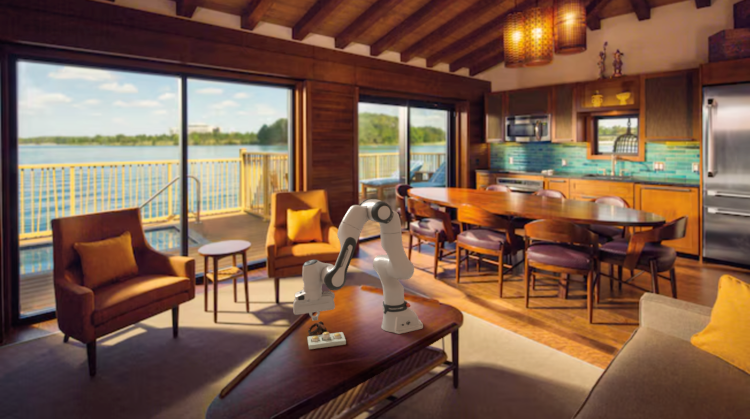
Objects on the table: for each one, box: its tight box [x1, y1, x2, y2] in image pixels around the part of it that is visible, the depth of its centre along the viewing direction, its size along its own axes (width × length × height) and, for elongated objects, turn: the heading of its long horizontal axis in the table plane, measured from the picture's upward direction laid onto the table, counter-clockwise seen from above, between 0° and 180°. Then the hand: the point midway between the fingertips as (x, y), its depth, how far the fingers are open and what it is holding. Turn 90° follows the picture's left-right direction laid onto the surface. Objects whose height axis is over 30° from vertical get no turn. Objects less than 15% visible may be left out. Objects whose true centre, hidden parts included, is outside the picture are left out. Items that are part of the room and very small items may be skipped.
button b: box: [321, 331, 331, 341], centre depth 208 cm, size 4×4×3 cm
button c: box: [311, 336, 319, 342], centre depth 207 cm, size 4×4×3 cm
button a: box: [334, 332, 341, 339], centre depth 210 cm, size 4×4×3 cm
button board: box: [306, 331, 347, 350], centre depth 209 cm, size 18×10×3 cm, turn 103°
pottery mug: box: [307, 320, 328, 336], centre depth 219 cm, size 12×10×8 cm
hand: (315, 320), depth 206 cm, fingers closed
